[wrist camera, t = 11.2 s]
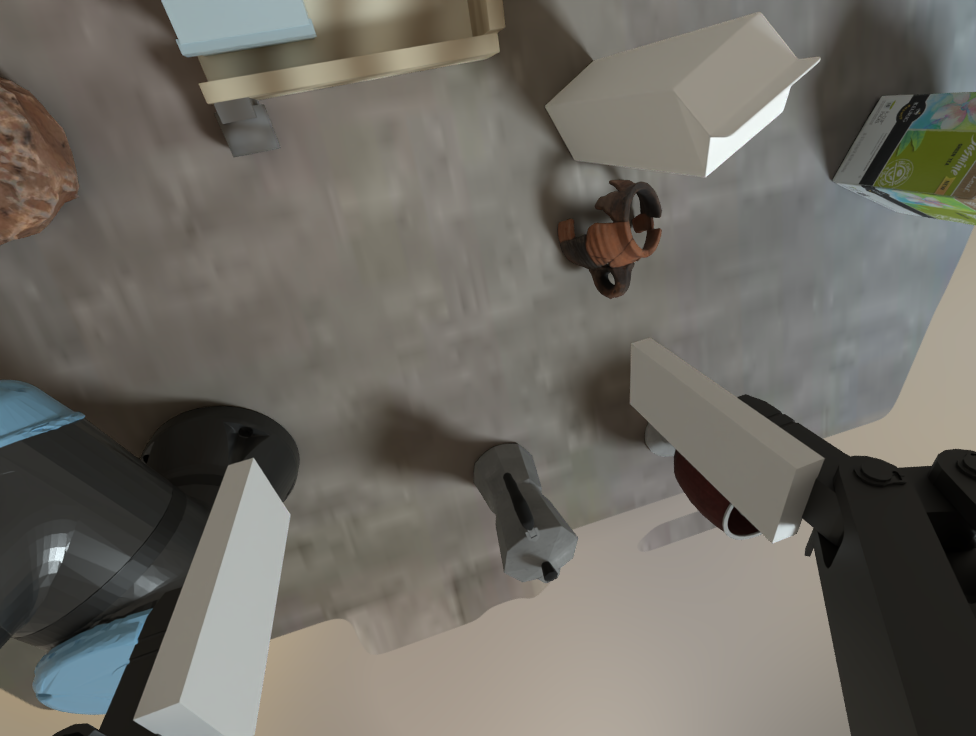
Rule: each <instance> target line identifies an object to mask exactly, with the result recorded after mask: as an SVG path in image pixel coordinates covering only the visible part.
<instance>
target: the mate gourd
mask: <svg viewBox="0 0 976 736" xmlns="http://www.w3.org/2000/svg"><path fill="white" fill-rule="evenodd" d="M645 442H646V445H647V446H648V448H649V449H650V450H651V451H652V452H653V453H654V454H656V455H659V456H664V457H667V456H674V473H675V477H676V479H677V481H678V483H679V485H680V487H681V488H682V490H683V491H684V493H685V494H686V495H687V497H688V498H689V500H690V501H691V503H692V504H693V505H694V506H695V507H696V508H697V509H698V510H699V512H700V513H701V514H702V515H703V516H704V517H706V518H707V519H708V520H709V521H710V522H712V523H713V524H714V525H715V526H716V527H718V528H719V529H721V530H722V531H724V532H725V533H726V535H727V536H729V537H730V538H733V539H740V540H743V539H748V538H753V537H756V536H759V535H761V534H762V533H761V532H760V531H759V530H758V529H757V528H756V527H755V526H754V525H753V524H752V523H751V522H750V521H749V520H748V519H747V518H746V517H745V516H744V515H743V514H742V513H741V512H740V511H739V510H737V509H736V508H735V507H734V506H733V505H732V504H731V503H730V502H729V501H728V500H727V499H726V498H725V497H724V496H723V495H722V494H721V493H720V492H719V491H718V490H717V489H716V488H715V487H714V486H713V485H712V484H711V483H710V482H709V481H708V480H707V479H706V478H705V477H704V476H703V475H702V474H701V473H700V472H699V471H698V470H697V469H696V468H695V467H694V466H693V465H692V464H691V463H690V462H689V461H688V460H687V459H686V458H685V457H684V456H683V455H681V454H680V453H679V452H678V451H677V450H676V449H675V448H674V447H673V446H672V445H671V444H670V443H669V442H668V441H667V440H666V439H665V438H664V437H663V436H662V435H661V434H660V433H659V432H658V431H657V430H656V429H655V428H654V427H653V426H652V425H651V424H650V423H649V422H648V425H647V427H646V431H645Z"/></svg>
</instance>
